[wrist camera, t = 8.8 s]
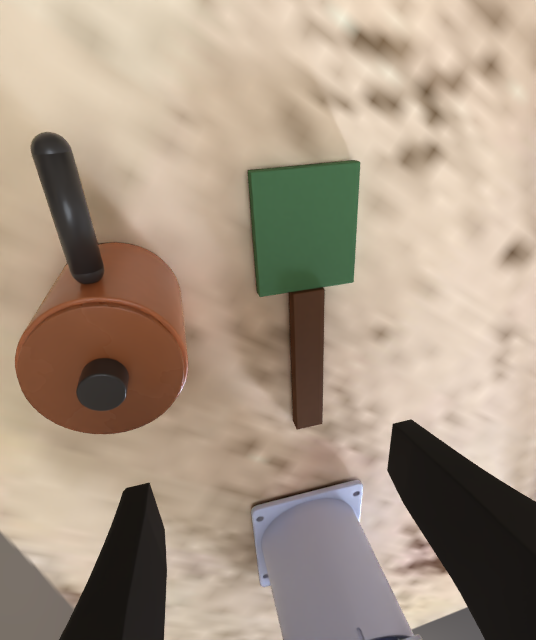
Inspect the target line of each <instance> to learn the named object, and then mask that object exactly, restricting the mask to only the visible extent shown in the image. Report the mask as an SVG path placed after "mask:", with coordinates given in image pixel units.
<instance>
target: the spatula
mask: <svg viewBox="0 0 536 640" xmlns="http://www.w3.org/2000/svg"><path fill="white" fill-rule="evenodd" d="M359 175H360V162H359V161H355V160H351V161H340V162H330V163H319V164H309V165H298V166H288V167H277V168H267V169H256V170H248V183H249V196H250V209H251V222H252V235H253V248H254V261H255V273H256V286H257V293H258V295H259V297H263V296H270V295H276V294H282V293H289V312H290V343H291V373H292V403H293V421H294V424H295V426H296V429H301V428H306V427H310V426H315V425H319V424H322V412H323V351H324V288H323V287H327V286H333V285H340V284H346V283H353V282H354V264H355V247H356V229H357V211H358V193H359Z"/></svg>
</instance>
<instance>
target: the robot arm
mask: <svg viewBox="0 0 536 640" xmlns="http://www.w3.org/2000/svg"><path fill="white" fill-rule="evenodd" d="M387 471H388V473H389V475H390V477H391V479H392V481H393V483H394V485H395V487H396V489H397V491H398V493H399V495H400V497H401V499H402V501H403V503H404V505H405V506H406V508H407V510H408V511H409V513H410V514H411V516H412V518H413V519H414V521H415V522H416V524H417V525H418V527H419V529H420V530H421V532H422V533H423V535H424V536H425V538H426V539H427V541H428V542H429V544H430V546H431V547H432V549H433V550H434V552H435V553H436V555H437V556H438V558H439V559H440V561H441V563H442V564H443V566H444V567H445V569H446V570H447V572H448V573H449V575H450V577H451V578H452V580H453V582H454V583H455V585H456V587H457V588H458V590H459V592H460V593H461V595H462V597H463V599H464V601H465V603H466V604H467V606H468V608H469V610H470V612H471V614H472V616H473V617H474V619H475V621H476V623H477V625H478V627H479V629H480V631H481V633H482V635H483V637H484V638H485V640H536V502H535V501H533V500H532V499H530V498H528V497H527V496H525V495H523V494H522V493H520V492H518V491H517V490H515V489H513V488H512V487H510V486H508V485H507V484H505V483H504V482H502V481H500V480H499V479H497V478H496V477H494V476H492V475H491V474H489V473H488V472H486V471H485V470H483V469H482V468H480V467H479V466H477V465H476V464H474V463H473V462H471V461H470V460H468V459H467V458H465V457H464V456H462V455H461V454H459V453H458V452H457V451H455V450H454V449H452V448H451V447H449V446H448V445H447V444H445V443H444V442H442V441H441V440H440V439H438V438H437V437H435V436H434V435H433V434H431V433H430V432H428V431H427V430H426V429H424V428H423V427H421V426H420V425H418V424H417V423H416V422H414V421H413V420H407V421H403V422H399V423H394V424H393V427H392V436H391V444H390V452H389V461H388V469H387ZM362 492H363V485H362V483H361V481H360V480H353V481H349V482H345V483H341V484H337V485H333V486H330V487H326V488H322V489H318V490H314V491H310V492H306V493H302V494H298V495H295V496H291V497H287V498H283V499H279V500H275V501H271V502H267V503H263V504H259V505H256V506H254V507H253V508H252V510H251V516H252V524H253V532H254V540H255V548H256V556H257V564H258V572H259V580H260V585H261V586H263V587H266V586H270V585H271V589H272V593H273V598H274V602H275V606H276V611H277V615H278V619H279V624H280V628H281V632H282V637H283V640H422V638H421V636H420V635H419V634H417V635H415V636H414V634H413V632H412V630H411V628H410V626H409V624H408V622H407V620H406V618H405V616H404V614H403V612H402V610H401V608H400V606H399V603H398V601H397V599H396V597H395V595H394V593H393V591H392V589H391V587H390V585H389V583H388V581H387V579H386V577H385V574H384V572H383V570H382V568H381V566H380V564H379V562H378V560H377V558H376V556H375V554H374V552H373V550H372V548H371V546H370V543H369V541H368V539H367V537H366V535H365V533H364V531H363V529H362V527H361V525H360V513H361V502H362ZM166 577H167V564H166V545H165V529H164V526H163V523H162V520H161V517H160V514H159V510H158V507H157V504H156V501H155V498H154V495H153V492H152V489H151V486H150V483H146V484H142V485H137V486H133V487H129V488H126V489H125V490H124V491H123V493H122V496H121V500H120V503H119V506H118V508H117V511H116V514H115V517H114V520H113V522H112V525H111V527H110V530H109V533H108V535H107V538H106V540H105V543H104V545H103V547H102V550H101V552H100V554H99V557H98V559H97V561H96V564H95V566H94V568H93V571H92V573H91V575H90V578H89V580H88V582H87V584H86V586H85V588H84V591H83V593H82V595H81V597H80V599H79V601H78V603H77V605H76V607H75V609H74V611H73V613H72V615H71V618H70V620H69V622H68V624H67V626H66V628H65V630H64V631H63V633H62V635H61V637H60V639H59V640H164V624H165V601H166Z"/></svg>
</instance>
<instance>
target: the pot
mask: <svg viewBox="0 0 536 640" xmlns="http://www.w3.org/2000/svg"><path fill="white" fill-rule="evenodd" d="M31 153H32V156H33V160H34V163H35V166H36V169H37V172H38V175H39V178H40V181H41V184H42V187H43V190H44V193H45V196H46V199H47V202H48V205H49V208H50V211H51V215H52V218H53V221H54V224H55V227H56V230H57V233H58V236H59V239H60V242H61V245H62V248H63V251H64V254H65V257H66V260H67V264H66V266H65V267H64V269H63V270H62V272H61V273H60V275H59V277H58V278H57V280H56V281H55V283H54V285H53V286H52V288H51V289H50V291H49V293H48V294H47V296H46V297H45V299H44V301H43V302H42V304H41V306H40V307H39V309H38V310H37V312H36V314H35V315H34V317H33V318H32V320H31V322H30V323H29V325H28V326H27V328H26V330H25V331H24V333H23V335H22V336H21V338H20V341H19V343H18V346H17V349H16V355H15V368H16V374H17V378H18V380H19V384H20V387H21V389H22V392H23V393H24V395H25V397H26V399H27V400H28V401H29V402H30V404H31V405H32V406H33V407H34V408H35V409H36V410H37V411H38V412H39V413H40V414H42V415H43V416H44V417H46V418H47V419H49V420H51V421H52V422H54V423H56V424H58V425H60V426H63V427H65V428H68V429H71V430H74V431H79V432H83V433H91V434H114V433H120V432H125V431H129V430H133V429H136V428H139V427H141V426H144V425H146V424H148V423H150V422H151V421H153V420H155V419H156V418H158V417H159V416H160V415H162V414H163V413H164V412H165V411H166V410H167V409H168V408H169V407H170V406H171V405H172V403H173V402H174V401H175V399H176V398H177V397H178V395H179V394H180V392H181V390H182V389H183V387H184V384H185V381H186V378H187V373H188V355H187V346H186V337H185V328H184V319H183V310H182V300H181V291H180V287H179V284H178V281H177V279H176V277H175V275H174V273H173V272H172V270H171V269H170V268H169V266H168V265H167V264H166V263H165V262H164V261H163V260H162V259H160V258H159V257H158V256H157V255H155V254H153V253H152V252H150V251H148V250H146V249H144V248H141V247H139V246H135V245H132V244H126V243H104V244H99V245H98V242H97V239H96V235H95V232H94V228H93V224H92V221H91V217H90V214H89V210H88V207H87V203H86V199H85V196H84V192H83V189H82V185H81V181H80V178H79V174H78V171H77V167H76V164H75V160H74V156H73V153H72V150H71V147H70V145H69V144H68V142H67V141H66V140H65V139H64V138H63V137H61V136H60V135H58V134H55V133H51V132H44V133H41V134H38V135H37V136H36V137H35V138H34V139H33V141H32V144H31Z"/></svg>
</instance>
